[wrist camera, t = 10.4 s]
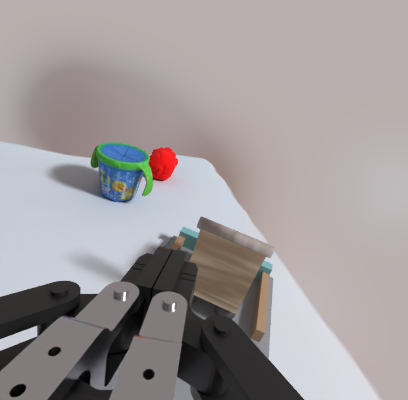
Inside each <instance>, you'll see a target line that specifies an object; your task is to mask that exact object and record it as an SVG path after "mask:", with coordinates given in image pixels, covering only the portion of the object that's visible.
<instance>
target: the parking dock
mask: <svg viewBox="0 0 408 400" xmlns="http://www.w3.org/2000/svg"><path fill="white" fill-rule="evenodd" d="M198 235H199V233H197V232H195V231H192V230H190V229H188V228H185V227H183V228H182V230H181V231H180V234H179V236H178V237H177V236H173V237H172V239H171V240H170V241H169V243H168V244H167V245H166V248H171V249H173V250H174V249H176V250H181V251H185V252H188V255H187V262H190V259H191V256H192V253H193V250H194V247H195V244H196V241H197V238H198ZM271 271H272V264H270V263H268V262H266V261H263V263H262V265H261V267H260V269H259V270H258V272H257V274H256V276H255V278H254V280H253V282H252V284H251V286H250V288H249V290H248V291H247V293H246V295H245V297H244V299H243V301H242V303H241V305H240V307H239V309H238V311H237V312H236V315H235V316H234V318H233V319H232V320H233V321H234V322H235V323H237V325H238V326H239V327H240V328H241V329H242V330H243V331H244V332H245V334H246V335H247V336H248V337H249V338H250V339H251V340H252V341H253V343H254V344H255V345H256V346H257V347H258V348H259V349H260V350H261V352H262V353H263V354H264V355H265V356H266V357H267V358H269V341H270V323H271V306H272V288H273V278H272V277H269V275H270V273H271ZM215 306H216V305H215V304H213V303H210V302H208V301H206V300H204V299H202V298H200V297H198V299H197V300H196V301H195V302H193V303H191V307H190V308H191V310H192V311H193V312H194V313H195V314H196V315H197V316H199V317H200V318H202V319H204V320H205V319H206V318H207V317H209V316H212V315H217V314H216V312H215ZM116 381H117V380H116ZM116 381H115V383H116ZM115 383H114V385H113V387H112V388H111V390H113V388H114V386H115ZM173 400H194V399H193V397H192V395H191V391H190V385H189V384H188V383H186V382H184V381H183V380H181V379H180V378H178V377H177V379H176V386H175V392H174V399H173Z"/></svg>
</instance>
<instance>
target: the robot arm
mask: <svg viewBox="0 0 408 400" xmlns="http://www.w3.org/2000/svg"><path fill="white" fill-rule="evenodd" d="M187 255H188V252H185V251H181V250H176V249H174V250H173V249H171V248H166V247H161V246H159V247H158V248H157V250H156V251H155V253H154V254H153V255H152V254H148V253H147V254H145V255H143V256H141V257H139V258H138V259H137V261H136V262H135V264H134V265H133V266H132V267H131V268H130V270H129V271H128V272H127V274H126V275H125V276H124V277H123V279H122V280H121V281H120V282H115V283H112V284H109V285H108V286H106V287H105V288H104V289H103V290H102V291H101V292H100V293H99V294H80V287H79V285H78V284H76V283H74V282H71V281H57V282H53V283H49V284H46V285H42V286H38V287H35V288H31V289H28V290H24V291H20V292H17V293H13V294H9V295H6V296H2V297H0V339H2V338H4V337H7V336H10V335H13V334H15V333H18V332H21V331H23V330H26V329H29V328H32V327H34V326H37V337H35V338H32V339H30V340H27V341H25V342H22V343H19V344H17V345H14V346H12V347H9V348H7V349H4V350H2V351H0V400H173V399H174V392H175V386H176V379H177V377H178V378H180V379H181V380H183V381H184V382H186V383H188V384H189V385H190V391H191V395H192V397H193V399H194V400H304V399H303V398H302V397H301V395H300V394H299V393H298V392H297V391H296V390H295V389H294V388H293V386H292V385H291V384H290V383H289V382H288V381H287V380H286V379H285V377H284V376H283V375H282V374H281V373H280V372H279V371H278V370H277V368H276V367H275V366H274V365H273V364H272V363H271V362H270V361H269V359H268V358H267V357H266V356H265V355H264V354H263V353H262V352H261V350H260V349H259V348H258V347H257V346H256V345H255V344H254V343H253V341H252V340H251V339H250V338H249V337H248V336H247V335H246V334H245V332H244V331H243V330H242V329H241V328H240V327H239V326H238V325H237V323H235V322H234V321H233V320H232V319H230V318H228V317H225V316H222V315H212V316H209V317H207V318H206V319H205V320H204V319H202V318H200V317H199V316H197V315H196V314H195V313H194V312H193V311H192V310H191V308H190V307H191V303H192V299H193V295H194V290H195V284H196V278H197V273H198V268H197V266H196V264H195V263H191V262H187ZM116 380H117V381H116ZM115 381H116V383H115ZM114 383H115V386H114V388H113V390H111V388H112V387H113V385H114Z"/></svg>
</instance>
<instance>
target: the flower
mask: <svg viewBox="0 0 408 400" xmlns="http://www.w3.org/2000/svg"><path fill="white" fill-rule="evenodd" d="M149 157H150V159H149V163H148V165H149V166H150V168H151V171H152V176H153V178H156V179H159V180H166V179H168V178H169V177H170V176H171V174H172V173H173V171H174V168H175V166H176V165H177V164H178V159H177V158H175V157H176V154H175V153H173V152H172V150H171V149H170V148H164V149H163V148H159V149H155V150H153V152H152V155H151V156H149Z"/></svg>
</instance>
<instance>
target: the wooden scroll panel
mask: <svg viewBox="0 0 408 400" xmlns="http://www.w3.org/2000/svg"><path fill="white" fill-rule="evenodd" d="M197 228H199V229H201V230H200V232H199V235H198V238H197V241H196V244H195V247H194V250H193V253H192V256H191V259H190V262H191V263H195V264H196V266H197V268H198V273H197V278H196V284H195V290H194V295H193V299H192V303H193V302H195V301H196V300H197V299H198V297H200V298H202V299H204V300H206V301H208V302H210V303H213V304H215V305H216V306H215V312H216V314H217V315H222V316H225V317H228V318H230V319H233V318H234V316H235V315H236V312H237V311H238V309H239V307H240V305H241V303H242V301H243V299H244V297H245V295H246V293H247V291H248V290H249V288H250V286H251V284H252V282H253V280H254V278H255V276H256V274H257V272H258V270H259V269H260V267H261V265H262V263H263V261H264V259H265V257H268V258H271V256H272V254H273V251H274V247H273V246H271V245H269V244H267V243H264V242H262V241H259V240H257V239H255V238H252V237H250V236H247V235H245V234H242V233H240V232H238V231H235V230H233V229H230V228H228V227H226V226H223V225H221V224H218V223H216V222H213V221H211V220H209V219H206V218H204V217H201V218H200V220H199V222H198V225H197Z"/></svg>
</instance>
